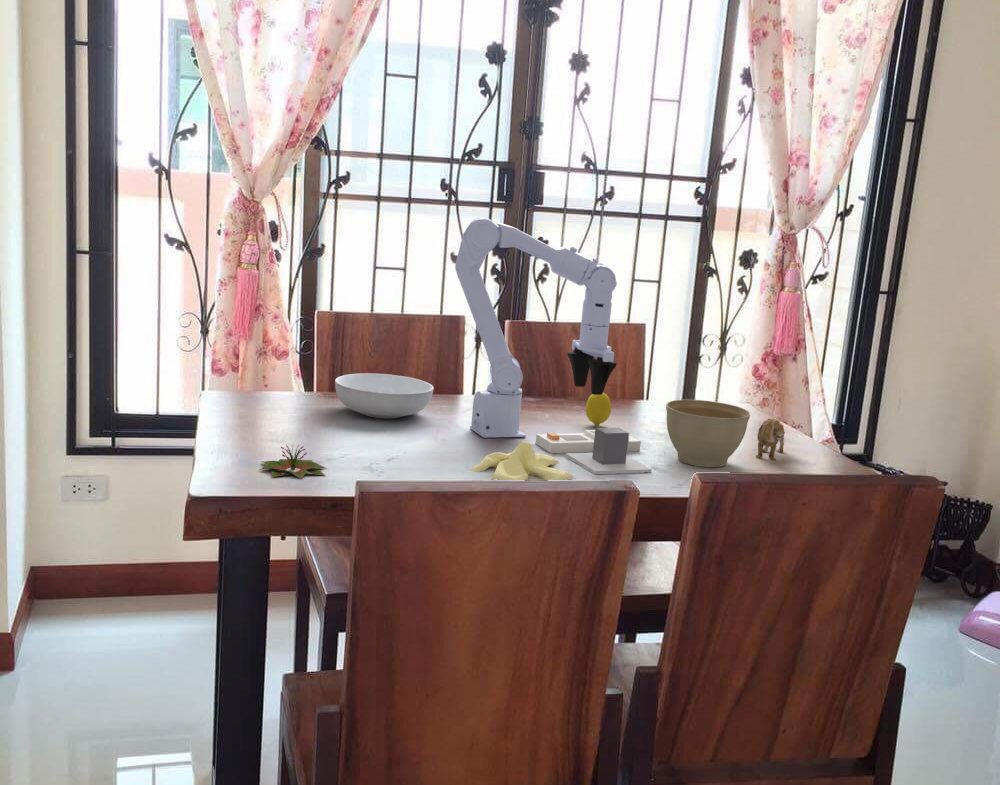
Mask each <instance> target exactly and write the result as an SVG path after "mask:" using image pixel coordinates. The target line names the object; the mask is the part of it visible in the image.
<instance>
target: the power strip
mask: <svg viewBox="0 0 1000 785" xmlns="http://www.w3.org/2000/svg"><path fill="white" fill-rule="evenodd" d="M594 437H595V429H584V432H583V433H581V432H580V433H579V432H578V433H577V432H576V433H575V432H574V433H573V432H572V433H571V432H570V433H556V432H547V433H536V434H535V444H536V446H538V447H540V448H542V449H543V450H545V451H546V452H548V453H550V454H562V453H565V454H566V453H593V446H594ZM641 443H642V441H641V440H639V439H637V438H635V437H634V436H631V435H630V434H629V438H628V447H627V452H640V451H641Z"/></svg>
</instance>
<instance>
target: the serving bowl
mask: <svg viewBox="0 0 1000 785" xmlns="http://www.w3.org/2000/svg"><path fill="white" fill-rule="evenodd" d="M334 386H335V392H336V395H337V397H338V399H339V400H340V402H341V403H342V404H343V405H344V406H345V407H347V408H348V409H350V410H352V411H354V412H356V413H360V414H362V415H365V416H367V417H370V418H374V419H375V418H376V419H398V418H403V417H407V416H411V415H414V414H417V413H419V412H421V411H423V409H425V408H426V407H427V406H428V405H429V404H430V401H431V399H432V397H433V394H434V390H435V389H434V386H433V384H431V383H429V382H427V381H424V380H421V379H419V378H414V377H410V376H402V375H395V374H388V373H371V372H370V373H364V372H363V373H350V374H344V375H341V376H338V377H336V378H335V380H334Z"/></svg>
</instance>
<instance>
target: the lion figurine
mask: <svg viewBox="0 0 1000 785" xmlns="http://www.w3.org/2000/svg"><path fill="white" fill-rule="evenodd" d="M785 433H786V432H785V428H784V425H783V424H782V423H781V421H780V420H779V419H778V418H774V417H771V418H767V419H766V420H764V421H763V422H762V424H761V425H760V427H759V428H758V432H757V441H758V442H757V454H756V455H755V458H756V459H762V458H763V457H764V456H763V453H767V452H768V451H769V450H770V451H769V453H768V459H769V461H776V457H775V451H776V449H777V444H778V442H779V447H778V450H777V452H778V453H784V445H785V443H784V438H785ZM769 448H770V449H769Z"/></svg>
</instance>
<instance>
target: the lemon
mask: <svg viewBox="0 0 1000 785" xmlns="http://www.w3.org/2000/svg"><path fill="white" fill-rule="evenodd" d="M611 413H612V402H611V399H610V397H609V396H608V394H607V393H604V392H603V393H602V395H593V394H592V393H591V394H590V395H589V397H588V399H587V401H586V405H585V415H586V417H587V419H588V420H589V422H592V423H593V425H594V426H595V427H598V426H600V424H603V423H605V422H606V421H607V420H608V419H609V417H610V415H611Z"/></svg>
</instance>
